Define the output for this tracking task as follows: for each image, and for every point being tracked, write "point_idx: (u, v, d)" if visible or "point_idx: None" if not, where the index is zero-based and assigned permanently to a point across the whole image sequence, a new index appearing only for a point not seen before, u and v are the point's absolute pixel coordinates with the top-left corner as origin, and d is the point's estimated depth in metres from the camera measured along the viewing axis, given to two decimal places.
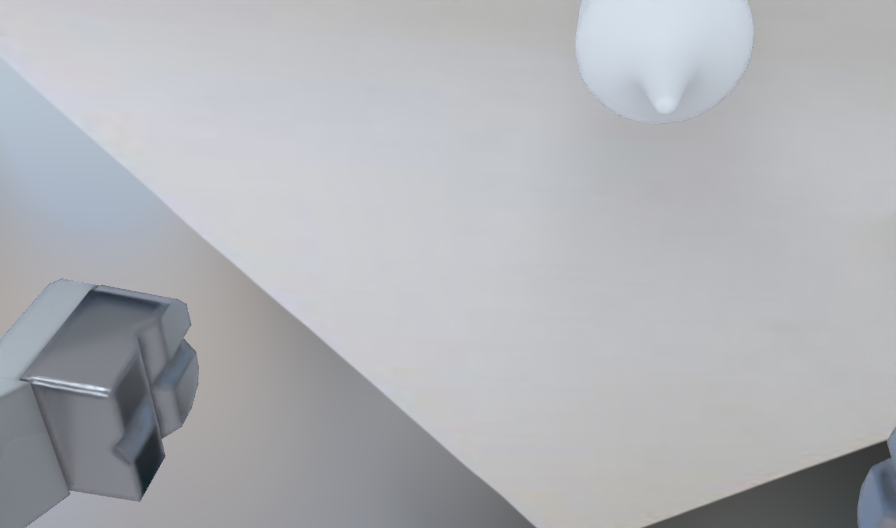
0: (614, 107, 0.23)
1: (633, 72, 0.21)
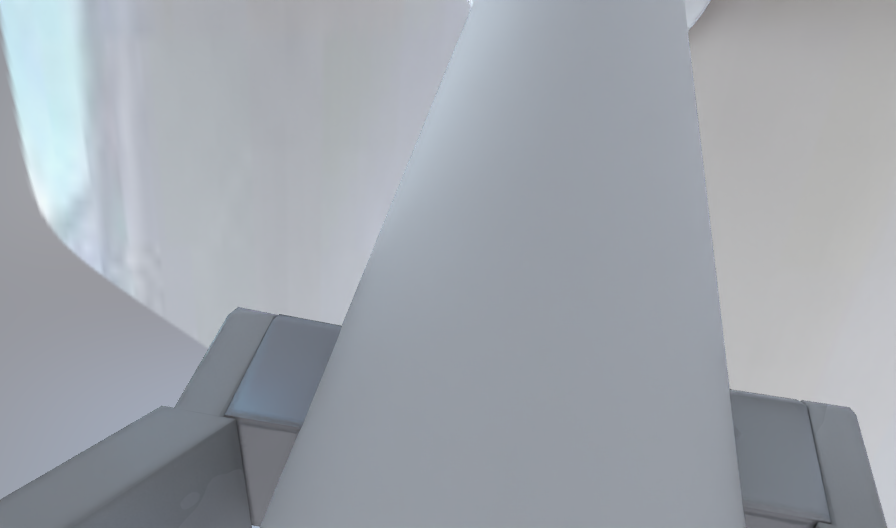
0: None
1: None
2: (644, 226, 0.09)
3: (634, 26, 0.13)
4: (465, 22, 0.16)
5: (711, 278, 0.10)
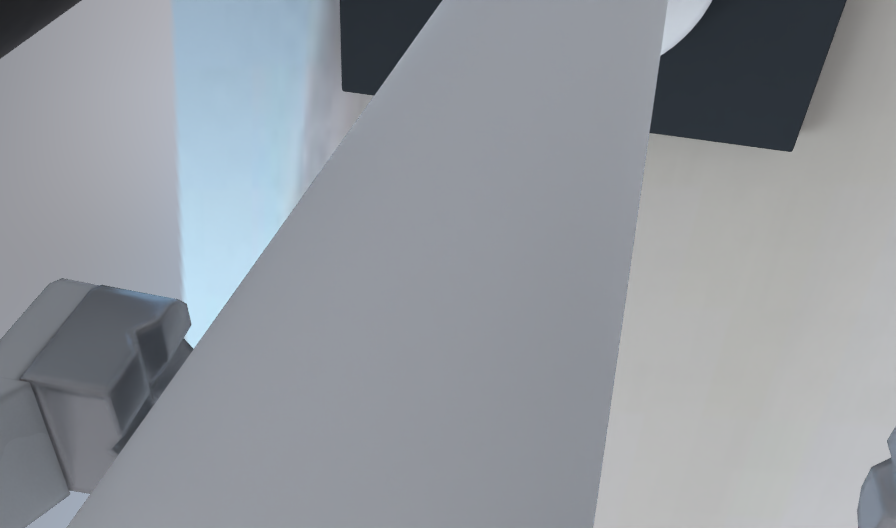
0: None
1: None
2: (528, 217, 0.09)
3: (581, 22, 0.13)
4: None
5: (606, 274, 0.10)
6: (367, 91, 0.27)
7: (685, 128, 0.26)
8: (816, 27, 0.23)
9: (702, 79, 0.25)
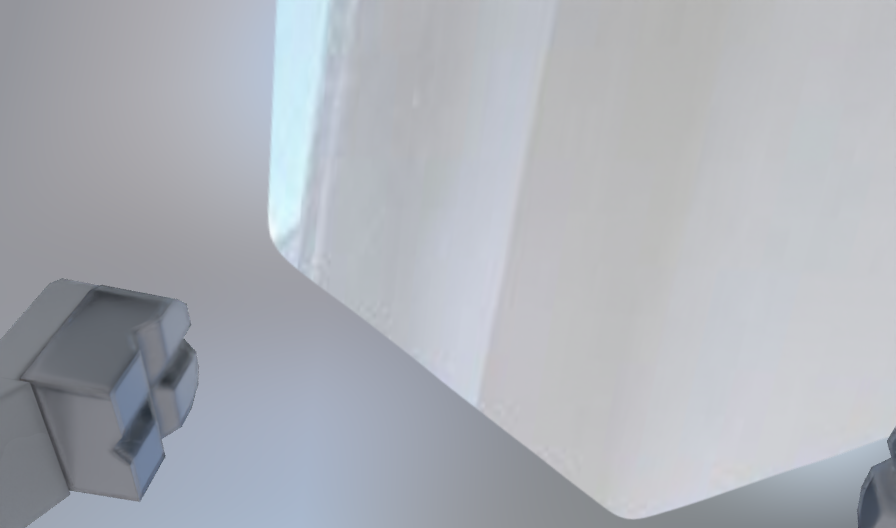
0: None
1: None
2: None
3: None
4: None
5: None
6: None
7: None
8: None
9: None
